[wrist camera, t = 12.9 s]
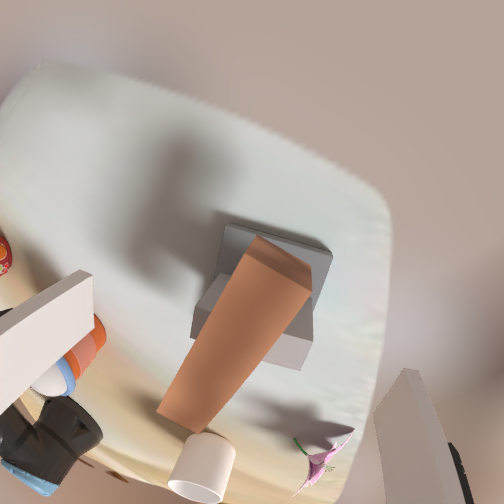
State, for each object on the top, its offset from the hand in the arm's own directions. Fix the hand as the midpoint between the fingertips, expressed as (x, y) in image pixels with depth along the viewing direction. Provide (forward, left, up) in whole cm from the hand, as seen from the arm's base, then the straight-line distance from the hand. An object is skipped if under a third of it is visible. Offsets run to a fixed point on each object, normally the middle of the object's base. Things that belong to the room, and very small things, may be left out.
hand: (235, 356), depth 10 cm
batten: (-1, -6, -9) cm, 11 cm away
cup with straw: (-22, -20, -18) cm, 34 cm away
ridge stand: (0, -6, -18) cm, 19 cm away
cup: (0, -38, -18) cm, 42 cm away
